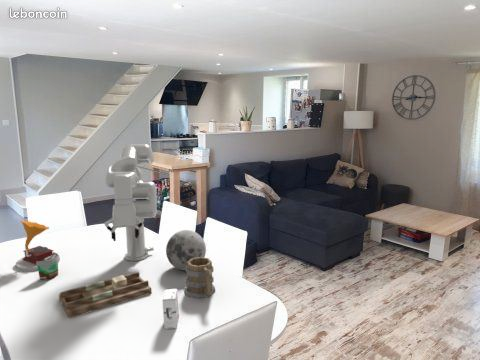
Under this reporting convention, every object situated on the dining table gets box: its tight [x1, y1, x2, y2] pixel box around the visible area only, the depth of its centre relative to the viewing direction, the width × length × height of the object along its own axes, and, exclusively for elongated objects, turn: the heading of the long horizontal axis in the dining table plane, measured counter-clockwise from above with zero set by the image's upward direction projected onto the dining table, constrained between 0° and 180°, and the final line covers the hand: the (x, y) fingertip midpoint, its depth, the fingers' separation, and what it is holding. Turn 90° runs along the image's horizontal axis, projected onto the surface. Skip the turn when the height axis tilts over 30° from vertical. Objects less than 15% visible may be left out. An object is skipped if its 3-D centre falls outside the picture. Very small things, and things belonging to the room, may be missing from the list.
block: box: [111, 274, 127, 289], centre depth 162 cm, size 5×5×4 cm
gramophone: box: [15, 219, 61, 272], centre depth 192 cm, size 20×20×25 cm
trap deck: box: [58, 271, 153, 319], centre depth 159 cm, size 34×18×4 cm, turn 127°
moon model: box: [165, 229, 207, 271], centre depth 186 cm, size 20×20×20 cm
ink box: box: [162, 288, 180, 330], centre depth 139 cm, size 9×5×12 cm, turn 5°
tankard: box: [184, 257, 216, 299], centre depth 160 cm, size 20×13×15 cm, turn 23°
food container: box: [36, 251, 61, 281], centre depth 177 cm, size 12×6×10 cm, turn 168°
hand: (125, 238), depth 167 cm, fingers open, 9 cm apart
